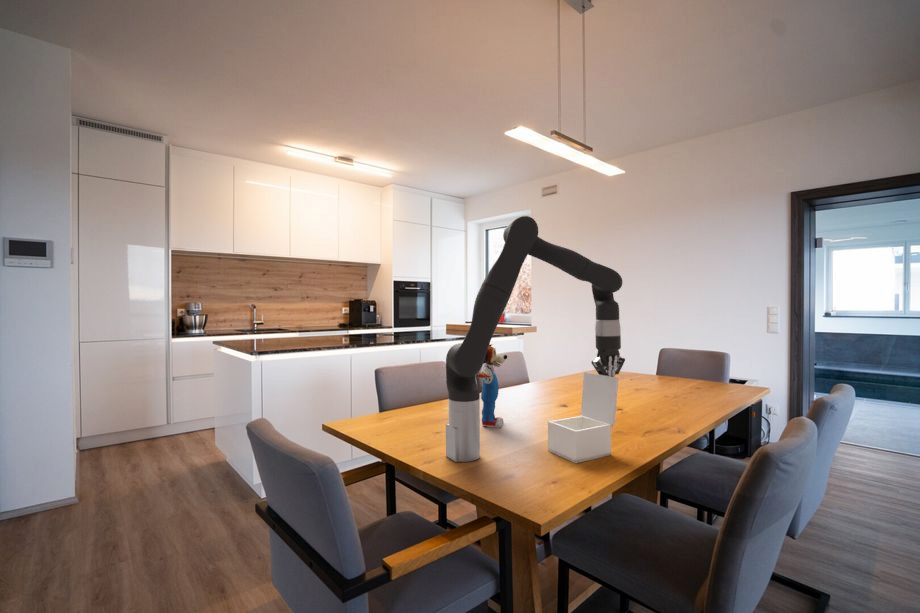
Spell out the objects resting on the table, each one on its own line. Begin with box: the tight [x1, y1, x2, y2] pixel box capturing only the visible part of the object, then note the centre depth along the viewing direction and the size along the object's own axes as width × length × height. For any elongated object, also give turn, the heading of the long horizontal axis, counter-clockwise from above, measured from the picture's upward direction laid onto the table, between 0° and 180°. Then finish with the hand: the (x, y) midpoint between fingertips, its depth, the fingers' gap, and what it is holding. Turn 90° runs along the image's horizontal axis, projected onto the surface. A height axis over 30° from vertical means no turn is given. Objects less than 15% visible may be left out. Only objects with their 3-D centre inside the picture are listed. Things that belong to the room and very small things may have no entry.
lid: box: [580, 371, 619, 426], centre depth 134 cm, size 14×13×1 cm
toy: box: [476, 344, 508, 428], centre depth 160 cm, size 34×10×30 cm, turn 168°
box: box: [547, 415, 612, 464], centre depth 130 cm, size 14×12×9 cm
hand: (609, 388), depth 136 cm, fingers closed
